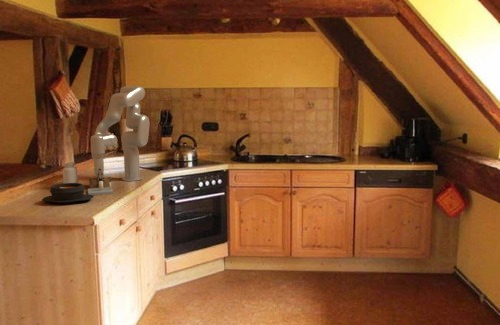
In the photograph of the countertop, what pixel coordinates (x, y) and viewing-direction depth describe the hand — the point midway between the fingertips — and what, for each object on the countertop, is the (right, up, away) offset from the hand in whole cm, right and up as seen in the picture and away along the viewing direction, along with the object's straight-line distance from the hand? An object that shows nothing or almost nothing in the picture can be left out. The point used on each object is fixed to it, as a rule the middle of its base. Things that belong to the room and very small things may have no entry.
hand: (100, 185), depth 259 cm
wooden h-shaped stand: (0, -1, 0) cm, 1 cm away
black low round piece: (-4, -6, -35) cm, 36 cm away
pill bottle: (-17, -1, -2) cm, 17 cm away
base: (+5, -3, -14) cm, 15 cm away
